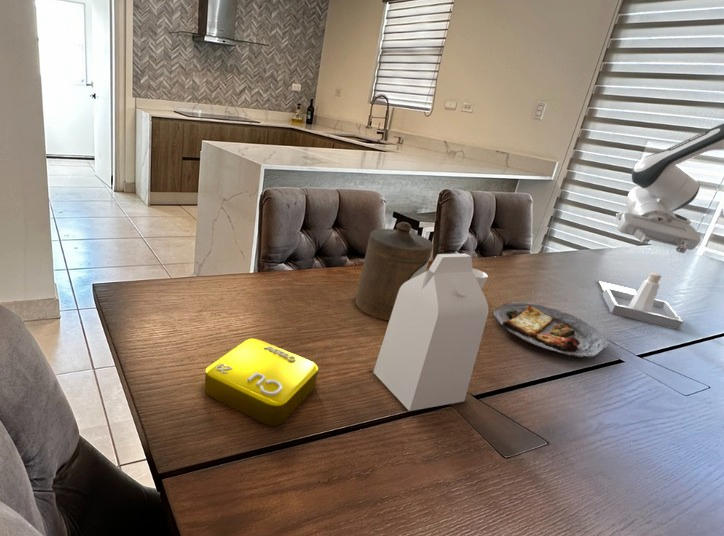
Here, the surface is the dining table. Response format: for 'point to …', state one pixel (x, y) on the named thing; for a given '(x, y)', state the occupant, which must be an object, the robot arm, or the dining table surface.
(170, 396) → the dining table surface
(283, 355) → the element tile
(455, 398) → the milk
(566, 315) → the food plate
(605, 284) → the coaster
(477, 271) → the cup
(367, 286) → the wooden container
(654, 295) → the pepper shaker
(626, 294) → the tray
